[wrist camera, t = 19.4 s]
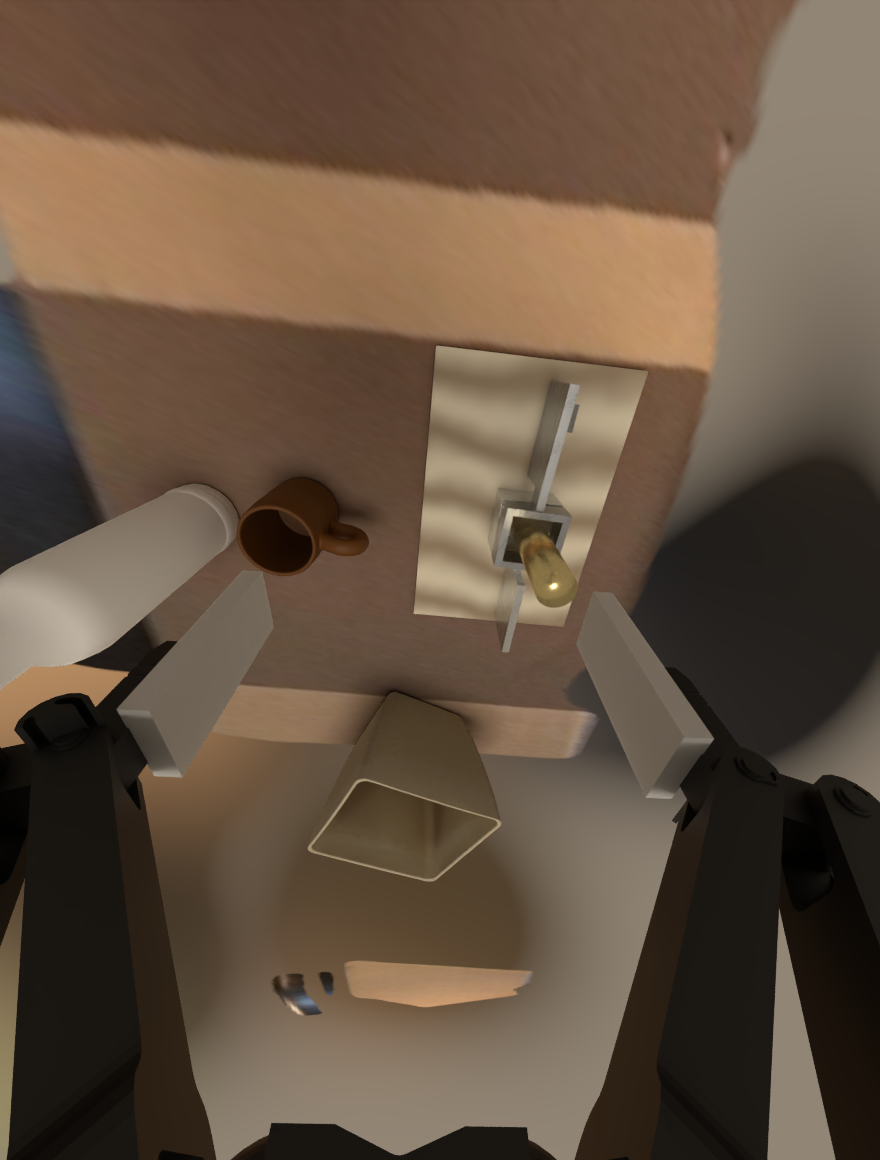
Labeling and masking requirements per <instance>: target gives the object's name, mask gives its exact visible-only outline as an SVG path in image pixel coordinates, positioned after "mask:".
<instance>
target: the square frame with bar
mask: <svg viewBox="0 0 880 1160" xmlns="http://www.w3.org/2000/svg"><path fill="white" fill-rule="evenodd" d="M579 388H580V385H575V384H569V383H563V382H557V381H551V383H550V387H549V391H548V395H547V399H546V403H545V407H544V411H543V415H542V419H541V423H540V427H539V431H538V435H537V439H536V443H535V447H534V451H533V455H532V459H531V463H530V466H529V470H528V474H527V476H528V477H529V479H530V480H531V481H532V483H533V484H534V486H535V489H534V493H533V497H532V500H531V503H525V502H518V501H510V500H504V502H503V506H502V511H501V515H500V519H499V524H498V528H497V533H496V537H495V541H494V546H493V550H492V554H491V556H492V560H493V564H494V567H502V568H510V569H518V570H526V569H525V567H524V564H523V562H522V559H521V557H520V554H519V553H515V552H507V551H505V548H506V544H507V540H508V536H509V532H510V528H511V524H512V520H513V516H516V517H523V518H530V519H538V520H545V521H553V525H552V529H551V532H550V535H549V536H550V538H551V540H552V541H553V543H554V544H555V546H556V548H557V549H558V551H559V553H561V550H562V547H563V544H564V541H565V538H566V535H567V532H568V529H569V526H570V523H571V520H572V516H571V515H570V513H569V512H568V511H567V510H566V509H565V508H562V507H554V506H547V505H546V502H547V499H548V495H549V492H550V488H551V485H552V482H553V478H554V475H555V471H556V468H557V464H558V461H559V457H560V454H561V450H562V447H563V443H564V440H565V436H566V433H567V430H568V426H569V423H570V419H571V416H572V412H573V409H574V405H575V402H576V398H577V395H578V391H579Z"/></svg>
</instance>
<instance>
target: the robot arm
mask: <svg viewBox="0 0 880 1160" xmlns="http://www.w3.org/2000/svg"><path fill="white" fill-rule="evenodd" d="M273 628H274V625H273V620H272V616H271V611H270V606H269V601H268V596H267V592H266V587H265V582H264V577H263V572H259V571H242V572H241V573H240V574H239V575H238V576H237V577H236V578H235V579H234V580H233V582H232V583H231V584H230V585H229V586H228V587H227V588H226V589H225V590H224V591H223V593H222V594H221V595H220V596H219V597H218V598H217V599H216V600H215V601H214V602H213V604H212V605H211V606H210V607H209V608H208V609H207V610H206V611H205V612H204V613H203V615H202V616H201V617H200V618H199V619H198V620H197V621H196V622H195V623H194V624H193V626H192V627H191V628H190V629H189V630H188V631H187V632H186V633H185V634H184V635H183V637H182V638H181V639H180V640H179V641H166V642H164V643H163V644H161V645H160V646H158V647H156V648H155V649H153V650H151V651H150V652H149V653H148V654H147V655H146V656H145V657H144V658H143V659H142V660H141V661H140V662H139V663H138V666H135V667H134V668H133V669H132V670H131V671H130V673H129V674H128V676H127V677H125V678H124V679H123V680H122V681H121V682H120V683H119V684H118V685H117V686H116V687H115V688H114V689H113V690H112V691H111V692H110V693H109V694H108V695H107V696H106V697H105V698H104V699H103V700H102V701H101V702H100V703H99V704H98V706H96V707H95V706H94V704H93V703H92V701H91V699H90V698H89V696H87V695H84V694H82V693H69V694H65V695H61V696H57V697H54V698H52V699H50V700H47V701H45V702H42V703H40V704H39V705H37V706H36V707H34V708H33V709H31V710H29V711H28V712H27V713H26V714H25V715H24V716H23V717H22V718H21V719H20V720H19V721H18V723H17V725H16V727H15V729H14V730H15V732H16V733H17V734H18V735H19V736H20V738H21V739H22V740H23V741H24V743H25V744H20V745H15V746H10V747H5V748H0V945H1V943H2V940H3V938H4V934H5V932H6V929H7V926H8V924H9V920H10V918H11V915H12V912H13V910H14V907H15V904H16V901H17V898H18V896H19V893H20V890H21V887H22V884H23V882H24V879H25V887H24V904H23V920H22V937H21V953H20V969H19V985H18V986H19V987H18V1001H17V1002H18V1003H17V1018H16V1035H15V1051H14V1067H13V1083H12V1099H11V1116H10V1132H9V1147H8V1154H7V1160H216V1155H215V1150H214V1145H213V1140H212V1134H211V1130H210V1125H209V1121H208V1117H207V1114H206V1111H205V1107H204V1104H203V1102H202V1099H201V1097H200V1094H199V1092H198V1090H197V1087H196V1083H195V1080H194V1075H193V1071H192V1065H191V1060H190V1054H189V1048H188V1043H187V1037H186V1032H185V1026H184V1021H183V1015H182V1009H181V1003H180V998H179V992H178V986H177V981H176V975H175V970H174V965H173V959H172V953H171V947H170V942H169V936H168V930H167V924H166V919H165V913H164V907H163V902H162V896H161V891H160V885H159V879H158V874H157V868H156V863H155V857H154V852H153V845H152V840H151V834H150V829H149V823H148V817H147V812H146V806H145V800H144V795H143V789H142V784H141V782H140V780H139V778H138V776H139V774H140V773H141V771H142V770H143V768H144V767H145V766H146V764H148V766H149V768H150V769H151V771H152V773H153V775H154V776H165V777H183V775H184V774H185V772H186V770H187V769H188V767H189V766H190V764H191V762H192V761H193V759H194V757H195V756H196V754H197V752H198V751H199V749H200V747H201V746H202V744H203V742H204V741H205V739H206V738H207V736H208V734H209V733H210V731H211V729H212V728H213V726H214V725H215V723H216V721H217V720H218V718H219V716H220V715H221V713H222V711H223V710H224V708H225V707H226V705H227V703H228V702H229V700H230V698H231V697H232V695H233V693H234V692H235V690H236V688H237V687H238V685H239V684H240V682H241V680H242V679H243V677H244V675H245V674H246V672H247V670H248V669H249V667H250V666H251V664H252V662H253V661H254V659H255V657H256V656H257V654H258V652H259V651H260V649H261V647H262V646H263V644H264V643H265V641H266V639H267V638H268V636H269V634H270V633H271V631H272V629H273ZM576 645H577V648H578V650H579V652H580V654H581V656H582V659H583V661H584V663H585V665H586V668H587V670H588V672H589V674H590V676H591V678H592V681H593V683H594V685H595V687H596V690H597V692H598V694H599V696H600V698H601V701H602V703H603V705H604V707H605V709H606V712H607V714H608V716H609V718H610V720H611V722H612V725H613V727H614V729H615V731H616V733H617V736H618V738H619V740H620V742H621V744H622V747H623V749H624V751H625V753H626V756H627V758H628V760H629V762H630V765H631V767H632V769H633V771H634V773H635V776H636V778H637V780H638V782H639V784H640V786H641V789H642V791H643V793H644V795H645V797H646V798H665V799H672V797H673V796H674V795H675V793H676V792H677V790H678V789H679V788H680V787H681V789H682V791H683V793H684V795H685V796H686V798H687V801H686V802H685V804H684V805H683V806H682V808H681V809H680V811H679V812H678V813H677V814H676V816H675V817H674V819H673V820H672V821H673V822H675V823H677V822H678V825H677V829H676V832H675V835H674V839H673V842H672V846H671V849H670V853H669V857H668V860H667V864H666V867H665V871H664V874H663V878H662V882H661V885H660V889H659V892H658V896H657V899H656V903H655V906H654V910H653V914H652V917H651V920H650V924H649V927H648V931H647V934H646V938H645V941H644V945H643V949H642V952H641V955H640V959H639V962H638V966H637V970H636V973H635V977H634V980H633V984H632V987H631V991H630V994H629V998H628V1001H627V1005H626V1009H625V1012H624V1016H623V1019H622V1023H621V1026H620V1030H619V1033H618V1037H617V1040H616V1044H615V1047H614V1051H613V1054H612V1058H611V1062H610V1065H609V1068H608V1072H607V1075H606V1079H605V1082H604V1085H603V1088H602V1091H601V1093H600V1096H599V1098H598V1099H597V1101H596V1103H595V1105H594V1107H593V1109H592V1111H591V1113H590V1115H589V1118H588V1120H587V1122H586V1125H585V1128H584V1131H583V1134H582V1137H581V1140H580V1143H579V1146H578V1150H577V1153H576V1157H575V1160H767V1152H768V1131H769V1109H770V1088H771V1087H770V1086H771V1066H772V1046H773V1024H774V1022H773V1021H774V1003H775V981H776V960H777V938H778V918H779V909H780V913H781V918H782V922H783V927H784V931H785V936H786V940H787V945H788V949H789V953H790V958H791V962H792V967H793V971H794V975H795V980H796V985H797V989H798V994H799V998H800V1002H801V1007H802V1011H803V1016H804V1020H805V1025H806V1029H807V1034H808V1038H809V1043H810V1047H811V1051H812V1056H813V1060H814V1065H815V1069H816V1074H817V1078H818V1083H819V1087H820V1092H821V1096H822V1101H823V1105H824V1109H825V1114H826V1118H827V1123H828V1127H829V1132H830V1136H831V1141H832V1145H833V1150H834V1154H835V1158H836V1160H880V802H879V801H878V800H877V799H876V798H874V797H873V796H872V795H871V794H870V793H869V792H867V791H866V790H864V789H863V788H861V787H860V786H858V785H857V784H855V783H853V782H851V781H848V780H847V779H845V778H842V777H838V776H834V775H822V777H820V778H819V779H818V780H817V781H816V782H815V783H814V784H810V783H807V782H804V781H801V780H798V779H795V778H791V777H788V776H785V775H782V774H779V772H778V771H777V770H776V768H775V767H774V766H773V765H772V764H771V763H770V762H768V761H767V760H766V759H765V758H763V757H762V756H760V755H759V754H757V753H755V752H753V751H751V750H748V749H746V748H743V747H740V746H739V745H738V743H737V742H736V741H735V739H734V738H733V737H732V735H731V734H730V733H729V731H728V730H727V729H726V727H725V726H724V725H723V723H722V722H721V721H720V719H719V718H718V717H717V715H716V714H715V713H714V712H713V710H712V709H711V707H710V706H708V705H707V704H708V703H707V702H706V701H705V700H704V698H703V697H702V695H700V694H699V691H698V690H697V689H696V687H695V686H694V685H693V683H692V682H691V681H690V680H689V679H688V678H687V677H686V676H685V675H683V674H682V673H681V672H680V671H679V670H677V669H676V668H671V667H664V666H663V665H662V663H661V662H660V660H659V659H658V658H657V656H656V655H655V653H654V652H653V651H652V649H651V648H650V646H649V645H648V643H647V642H646V640H645V639H644V638H643V636H642V635H641V633H640V632H639V630H638V629H637V628H636V626H635V625H634V623H633V622H632V620H631V619H630V618H629V616H628V615H627V613H626V612H625V610H624V609H623V608H622V606H621V605H620V603H619V602H618V600H617V599H616V598H615V596H614V595H613V593H606V592H593V595H592V598H591V601H590V604H589V607H588V610H587V613H586V616H585V619H584V622H583V625H582V627H581V630H580V633H579V636H578V639H577V642H576ZM231 1160H556V1159H555V1158H554V1157H553V1156H552V1155H551V1154H550V1153H548V1152H547V1151H546V1150H544V1149H543V1148H541V1147H540V1146H539V1145H537V1144H536V1143H534V1142H532V1141H530V1140H528V1133H527V1128H525V1127H524V1128H523V1127H468V1126H465V1127H463V1128H461V1129H459V1130H457V1131H454V1132H452V1133H450V1134H448V1135H446V1136H444V1137H442V1138H439V1139H437V1140H435V1141H433V1142H431V1143H429V1144H427V1145H424V1146H422V1147H420V1148H418V1149H416V1150H414V1151H411V1152H409V1153H407V1154H404V1155H400V1156H399V1155H394V1154H391V1153H389V1152H388V1151H386V1150H384V1149H382V1148H380V1147H378V1146H376V1145H374V1144H372V1143H370V1142H368V1141H366V1140H364V1139H362V1138H361V1137H358V1136H357V1135H355V1134H353V1133H351V1132H349V1131H347V1130H345V1129H343V1128H341V1127H339V1126H337V1125H335V1124H292V1123H271V1128H270V1132H269V1135H268V1136H266V1137H263V1138H262V1139H259V1140H258V1141H256V1142H254V1143H253V1144H251V1145H250V1146H248V1147H246V1148H245V1149H243V1150H242V1151H241V1152H239V1153H238V1154H237V1155H236V1156H235V1157H233V1158H232V1159H231Z"/></svg>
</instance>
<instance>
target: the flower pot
mask: <svg viewBox="0 0 880 1160" xmlns="http://www.w3.org/2000/svg"><path fill="white" fill-rule="evenodd" d="M500 825H501V820H500V815H499V811H498V808H497V804H496V801H495V797H494V794H493V791H492V788H491V785H490V782H489V779H488V776H487V773H486V770H485V768H484V765H483V762H482V760H481V757H480V755H479V753H478V750H477V748H476V746H475V744H474V741H473V739H472V737H471V735H470V733H469V731H468V729H467V727H466V725H465V724H464V722H463V720H462V718H461V717H460V716H459V715H456V714H454V713H451V712H448V711H446V710H443V709H440V708H438V707H435V706H433V705H430V704H427V703H425V702H422V701H419V700H417V699H414V698H411V697H409V696H406V695H403V694H401V693H398V692H391V693H390V694H389V695H388V696H387V698H386V699H385V700H384V702H383V703H382V705H381V706H380V708H379V709H378V711H377V712H376V714H375V715H374V717H373V718H372V720H371V721H370V723H369V724H368V726H367V727H366V729H365V730H364V732H363V733H362V735H361V736H360V738H359V740H358V741H357V743H356V745H355V746H354V748H353V750H352V752H351V754H350V756H349V757H348V759H347V761H346V763H345V765H344V767H343V769H342V770H341V772H340V774H339V776H338V779H337V780H336V782H335V785H334V787H333V789H332V791H331V793H330V795H329V797H328V799H327V802H326V804H325V806H324V808H323V811H322V813H321V816H320V818H319V820H318V823H317V825H316V827H315V830H314V832H313V835H312V837H311V840H310V842H309V845H308V850H309V851H310V852H313V853H316V854H320V855H324V856H328V857H331V858H335V859H339V860H343V861H348V862H351V863H356V864H359V865H363V866H367V867H371V868H375V869H379V870H383V871H387V872H391V873H395V874H399V875H404V876H407V877H412V878H415V879H420V880H423V881H435V880H436V879H437V878H439V877H440V876H441V875H442V874H443V873H445V872H446V871H447V870H448V869H449V868H451V867H452V866H453V865H454V864H455V863H456V862H458V861H459V860H460V859H461V858H462V857H464V856H465V855H466V854H467V853H469V852H470V851H471V850H472V849H473V848H474V847H476V846H477V845H478V844H479V843H481V842H482V841H483V840H484V839H485V838H486V837H488V836H489V835H490V834H491V833H493V832H494V831H495V830H496V829H497V828H499V827H500Z"/></svg>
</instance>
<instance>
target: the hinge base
mask: <svg viewBox="0 0 880 1160" xmlns="http://www.w3.org/2000/svg"><path fill="white" fill-rule="evenodd" d="M578 409H579V405H578V404H575V405H574V409H573V412H572V416H571V419H570V423H569V426H568V430H567V432H569V433H572V432H573V428H574V424H575V421H576V417H577V413H578ZM533 493H534V492H532V491H522V490H513V489H503V488H497V492H496V498H495V503H494V509H493V514H492V520H491V525H490V531H489V536H488V543H489V547H490V550H491V554H492V550H493V546H494V541H495V537H496V533H497V528H498V524H499V519H500V515H501V511H502V506H503V502H504V500H510V501H518V502H525V503H531V500H532V497H533ZM546 505H547V506H554V507H562V508H563V505H562V504H561V502H560V501H559V500H558V499H557V498H556V496H555V495H554V494H551V493H549V495H548V499H547V502H546ZM540 522H541V523H542V525H543V526H544V528H545V530H546V531H547V533H548V535H550V532H551V529H552V525H553V521H545V520H540ZM505 551H507V552H515V553H519V552H518V549H517V546H516V544H515V541H514V539H513V537H509V536H508V540H507V544H506V548H505ZM520 571H521V570H518V569H510V568H505V570H504V575H503V580H502V584H501V589H500V594H499V598H498V603H497V607H496V612H495V621H496V626H497V631H498V635H499V640H500V645H501V650H502V652H509V649H510V645H511V641H512V637H513V633H514V629H515V625H516V621H517V618H518V614H519V610H520V606H521V602H522V598H523V594H524V590H525V583H524V580H523V578H522V575H521V572H520Z"/></svg>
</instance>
